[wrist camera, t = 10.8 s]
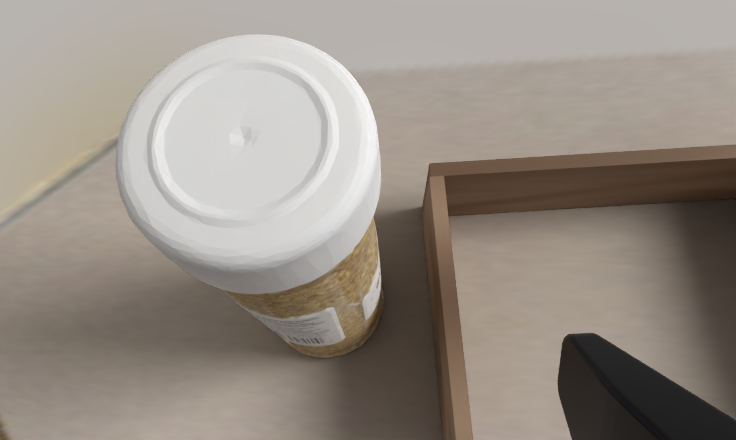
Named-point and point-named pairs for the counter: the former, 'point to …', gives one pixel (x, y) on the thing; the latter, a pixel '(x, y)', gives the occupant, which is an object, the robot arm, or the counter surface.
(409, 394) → the counter surface
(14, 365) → the counter surface
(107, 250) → the counter surface
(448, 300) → the wooden tray
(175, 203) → the sprinkles bottle
